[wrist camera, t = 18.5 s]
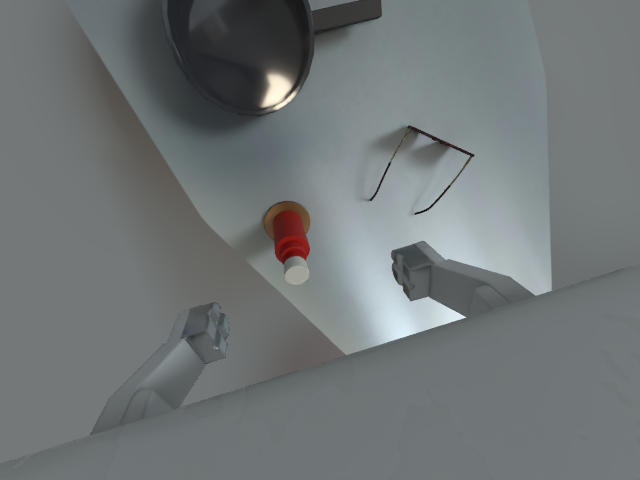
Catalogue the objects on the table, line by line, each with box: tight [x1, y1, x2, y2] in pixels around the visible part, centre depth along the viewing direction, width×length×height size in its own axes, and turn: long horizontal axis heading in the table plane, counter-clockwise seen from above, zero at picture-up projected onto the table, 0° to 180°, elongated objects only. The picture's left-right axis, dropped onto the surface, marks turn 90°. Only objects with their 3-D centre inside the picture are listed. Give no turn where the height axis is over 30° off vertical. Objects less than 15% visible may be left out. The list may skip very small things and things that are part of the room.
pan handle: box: [311, 0, 382, 33], centre depth 31 cm, size 9×2×1 cm, turn 102°
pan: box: [162, 0, 314, 116], centre depth 31 cm, size 17×17×5 cm
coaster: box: [264, 201, 310, 239], centre depth 48 cm, size 9×9×1 cm
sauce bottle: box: [273, 210, 310, 285], centre depth 41 cm, size 6×6×16 cm
